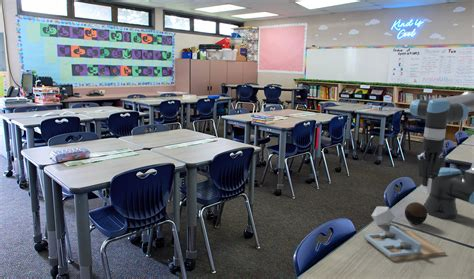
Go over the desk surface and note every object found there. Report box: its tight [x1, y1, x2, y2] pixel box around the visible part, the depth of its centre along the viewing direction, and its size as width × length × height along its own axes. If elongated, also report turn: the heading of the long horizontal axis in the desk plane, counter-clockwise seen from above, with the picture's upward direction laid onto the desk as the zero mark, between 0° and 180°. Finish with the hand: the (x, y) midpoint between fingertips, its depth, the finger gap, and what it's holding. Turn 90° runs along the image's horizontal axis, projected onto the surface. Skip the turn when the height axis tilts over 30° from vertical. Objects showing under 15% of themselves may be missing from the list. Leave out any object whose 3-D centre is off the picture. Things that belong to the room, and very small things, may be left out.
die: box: [371, 206, 396, 227], centre depth 164 cm, size 8×9×10 cm
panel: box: [363, 225, 422, 257], centre depth 142 cm, size 14×16×4 cm
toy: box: [404, 201, 428, 225], centre depth 166 cm, size 9×10×10 cm
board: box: [363, 230, 446, 262], centre depth 144 cm, size 24×18×4 cm
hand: (425, 193), depth 150 cm, fingers closed
